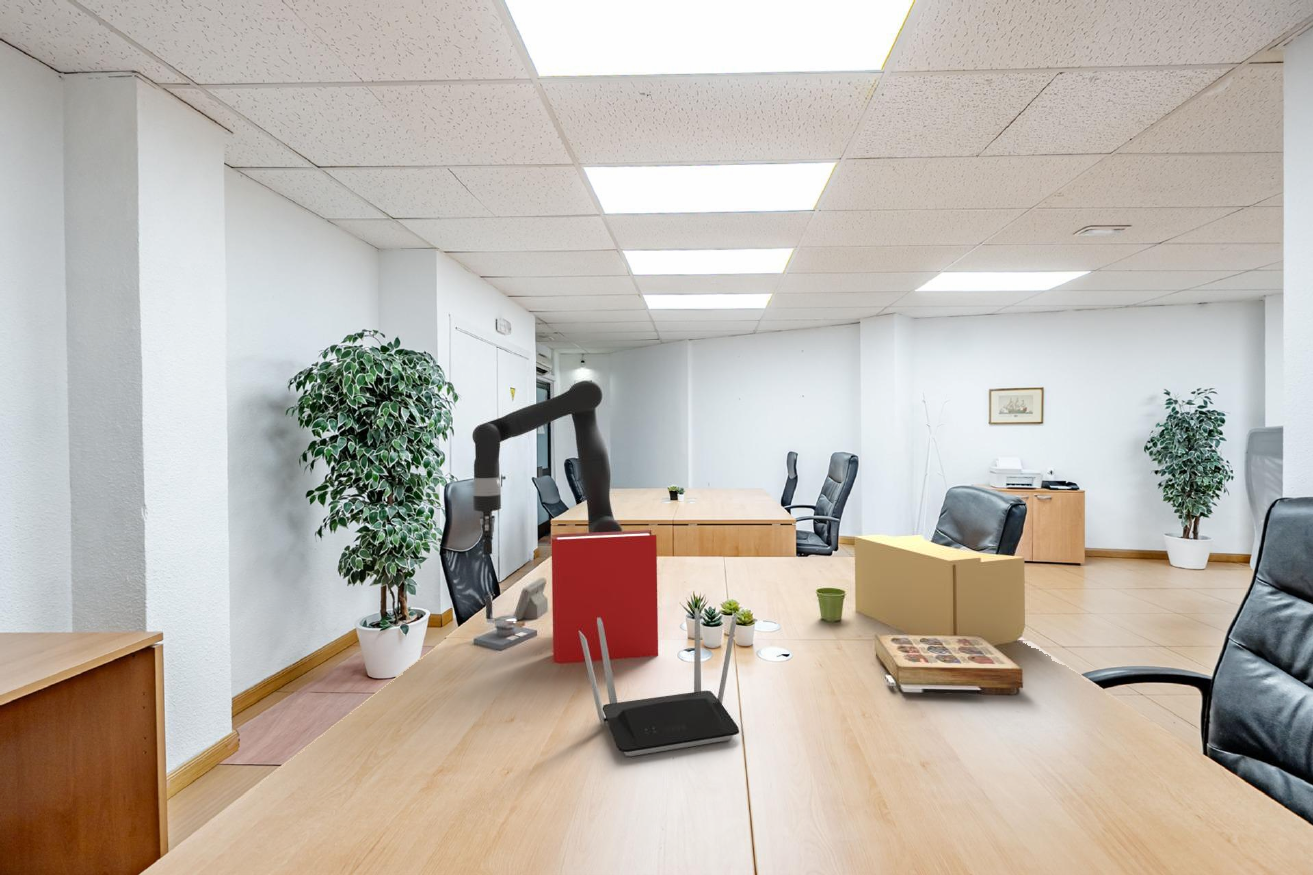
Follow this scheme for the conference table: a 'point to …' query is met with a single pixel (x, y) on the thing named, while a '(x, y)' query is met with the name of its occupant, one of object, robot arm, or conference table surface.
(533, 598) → the digital clock
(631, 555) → the book
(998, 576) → the cardboard box
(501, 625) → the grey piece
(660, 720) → the wireless router
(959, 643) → the flat wooden box
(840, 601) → the plant pot
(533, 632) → the stand
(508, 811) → the conference table surface
